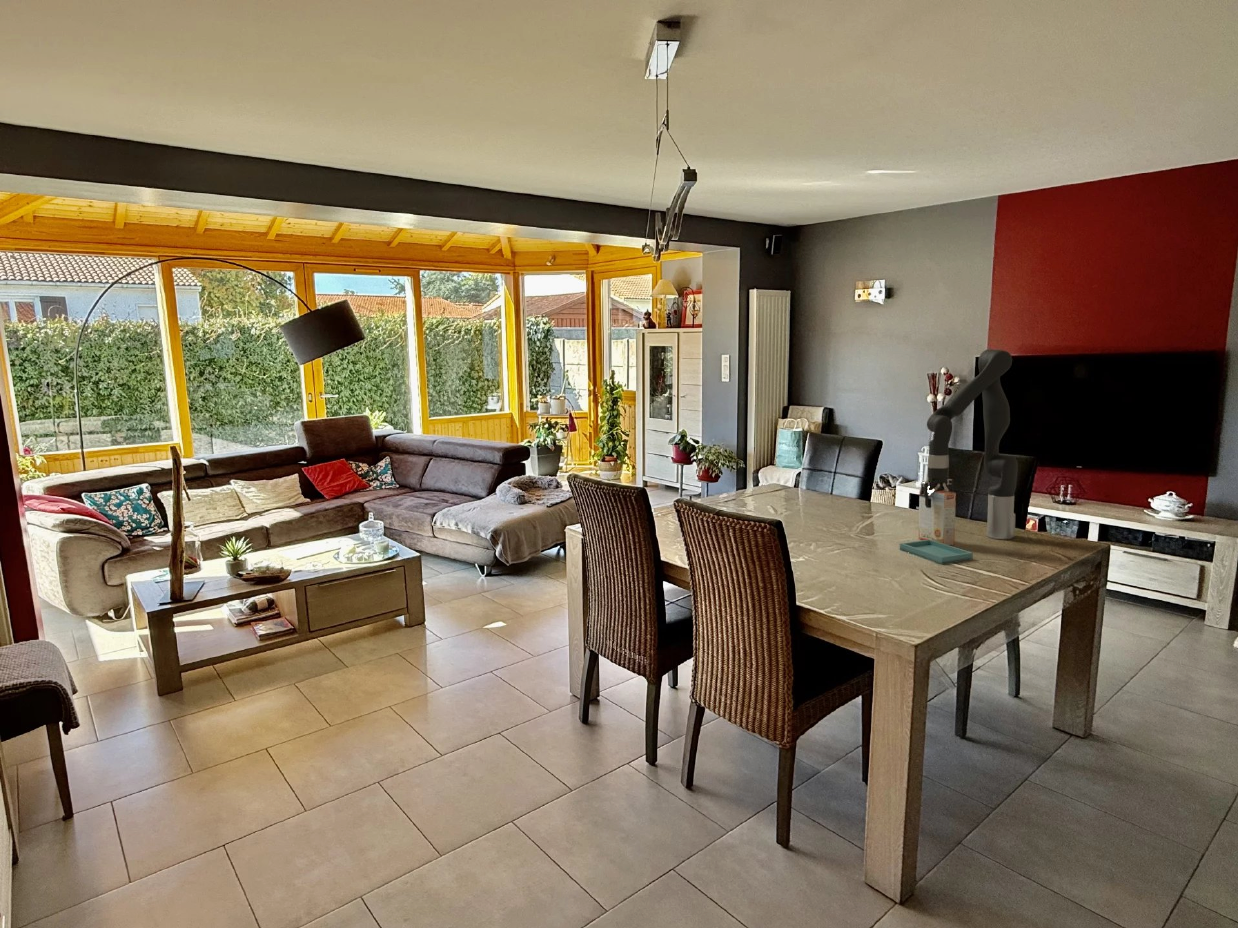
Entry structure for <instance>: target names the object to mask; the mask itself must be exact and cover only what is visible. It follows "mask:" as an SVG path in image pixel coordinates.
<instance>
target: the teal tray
mask: <svg viewBox="0 0 1238 928" xmlns="http://www.w3.org/2000/svg"><path fill="white" fill-rule="evenodd" d="M899 550H900V551H902V552H905V553H908V552H909V553H908V554H911V555H913V554H914V556H917V557H919V558H922V559H925V560H928V561H931V562H933V561H934V563H936V564H940V565H945V564H946V563H947V564H952V563H958V562H959V561H960V562H964V561H972V560H974V553H973V552H971V551H968V550H965V549H961V548H958V547H956V546H954V545H946V544H943V543H940V542H937V541H933V540H930V539H928V540H921V539H920V540H915V541H907V542H901V543H899Z"/></svg>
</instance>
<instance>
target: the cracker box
mask: <svg viewBox="0 0 1238 928" xmlns="http://www.w3.org/2000/svg"><path fill="white" fill-rule="evenodd" d="M930 491H932V490H930ZM918 494H919V495H918V496H919V499H918V501H919V502H918V503H919V504H918V505H919V507H918V539H919V540H920V541H921V540H928V539H930V540H933V541H937V542H940V543H943V544H946V545H950V546H955V537H956V535H955V534H956V533H955V532H956V530H955V529H956V506H957V505H956V503H957V502H956V499H957V493H956V492H954V493H953V492H948V491H944V490H943V491H936V492H935V494H933V495H932V497H931V498H930V499H931V508H927V507H926V506H925V498H924V497H921V488H919V493H918Z"/></svg>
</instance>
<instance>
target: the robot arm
mask: <svg viewBox="0 0 1238 928" xmlns="http://www.w3.org/2000/svg"><path fill="white" fill-rule="evenodd" d="M1012 363H1013V357H1012V354H1011V353H1010V352H1009V351H1006V350H1003V349H993V348H990V349H988V348H987V349H985V350H984V351H982V352H981V353H980V354H979V357H978V362H977V364H978V366H977V367H978V372H979V374H978V375H977V376H975V377H974V378H973V379H971V380H970V381H968V382H967V383H966V384H964V385H963V386H961V387H960V388H958V389H957V390H956V391H955V392H954V394H953V395H952V396H951V397H950V398H949V399H948V400H947V401H946V403H945V404H943V405H942V406H940V407H939V408H938V409H937V410H935V411H934V412H933V413H932V414H931V415H930V416H929V418H928V419H927V421H926V428H927V429H928V430H929V431H930V432H932V433H933V437H932V439H931V440H930V441H929V443H928V458H927V478H928V481H921V485H920V489H921V497H924V498H925V506H926V507H927V508H931V499H930V498H931V497H932V495H933V494H935V492H936V491H943V490H944V491H948V492H953V493H955V480H954V479H952V478H949V474H950V473H949V471H950V470H949V468H950V467H949V464H950V460H949V459H950V458H949V448H950V447H949V444H950V441H951V437H952V433H953V422H952V419H954V418H956V417H959V416H960V415H962V414H963V413H964V412H965V410H967V408H968V407H969V406H971V404H972V402H973V401H975V400H976V399H977V398H978V397H979V396H980V395H981V393H982V395H981V397H982V404H983V405H982V407H983V409H982V413H983V415H982V416H983V424H984V457H983V460H984V461H983V462H984V463H983V464H984V465H983V466H984V471H985V474H986V475H987V476H988V477H990V478H996V479H997V478H998V479H1000V483H999V484H995V485H991V486H990V487H989V488H988V491H987V492H988V495H987V498H988V499H987V522H986V524H987V525H986V528H987V529H986V537H988V538H990V539H995V540H996V539H997V540H1010V539H1013V538H1015V535H1016V533H1015V532H1016V513H1015V512H1014V510H1015V492H1016V489H1017V482H1018V481H1017V480H1018V472H1019V471H1018V470H1019V464H1018V460H1017V458H1016V457H1015V456H1014V455H1013V456H1012V455H1005V454H1000V451H999V450H1000V448H999V447H1000V442H1001V440H1002V438H1003V436H1004V435H1005V433H1006V431H1007V429H1008V428H1009V426H1010V423H1011V411H1010V410H1011V409H1010V404H1009V401H1008V399H1007V396H1006V394H1005V391H1004V389H1003V387H1002V384H1001V376H1003V375H1004V374H1005V373H1006V372H1007V371H1009V370H1010V368H1011V366H1012ZM930 490H932V491H930Z"/></svg>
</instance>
